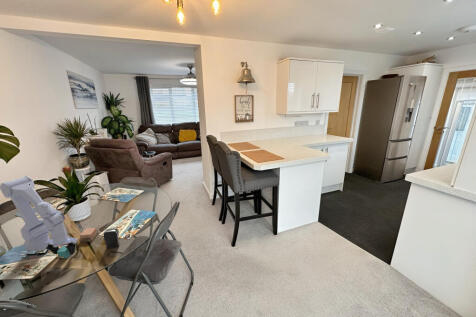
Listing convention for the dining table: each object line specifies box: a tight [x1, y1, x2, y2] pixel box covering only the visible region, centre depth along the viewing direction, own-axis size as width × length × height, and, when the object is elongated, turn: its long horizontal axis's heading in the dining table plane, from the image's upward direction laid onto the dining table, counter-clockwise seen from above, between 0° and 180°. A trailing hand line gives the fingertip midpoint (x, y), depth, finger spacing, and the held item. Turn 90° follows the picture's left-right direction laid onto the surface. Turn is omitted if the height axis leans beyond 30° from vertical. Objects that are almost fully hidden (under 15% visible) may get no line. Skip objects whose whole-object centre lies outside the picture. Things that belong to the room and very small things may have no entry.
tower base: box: [78, 230, 100, 243], centre depth 115 cm, size 7×7×2 cm
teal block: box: [57, 245, 72, 259], centre depth 101 cm, size 4×4×5 cm
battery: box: [102, 228, 121, 249], centre depth 109 cm, size 7×4×11 cm, turn 104°
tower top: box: [79, 227, 98, 239], centre depth 115 cm, size 6×6×2 cm
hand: (65, 253), depth 102 cm, fingers open, 7 cm apart
